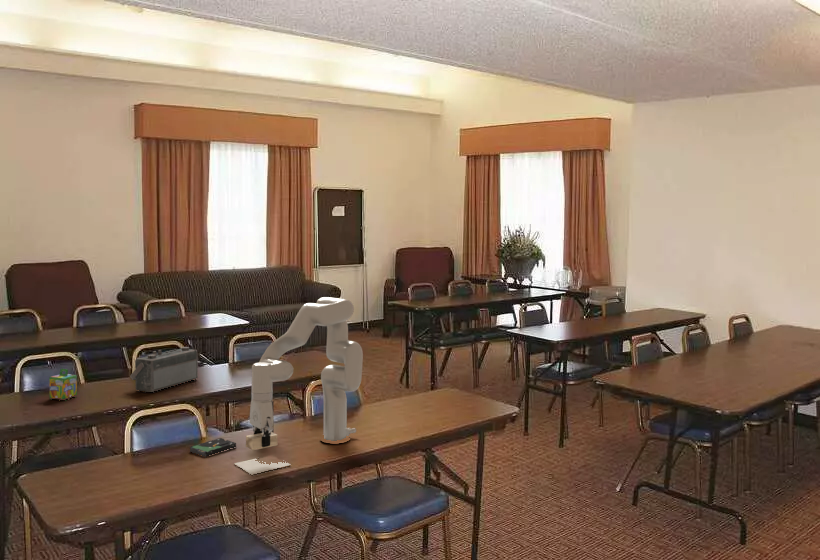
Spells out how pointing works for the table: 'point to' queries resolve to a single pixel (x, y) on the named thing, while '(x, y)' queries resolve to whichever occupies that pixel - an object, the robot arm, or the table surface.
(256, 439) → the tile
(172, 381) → the radio
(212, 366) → the table surface
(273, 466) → the mat
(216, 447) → the disk drive
